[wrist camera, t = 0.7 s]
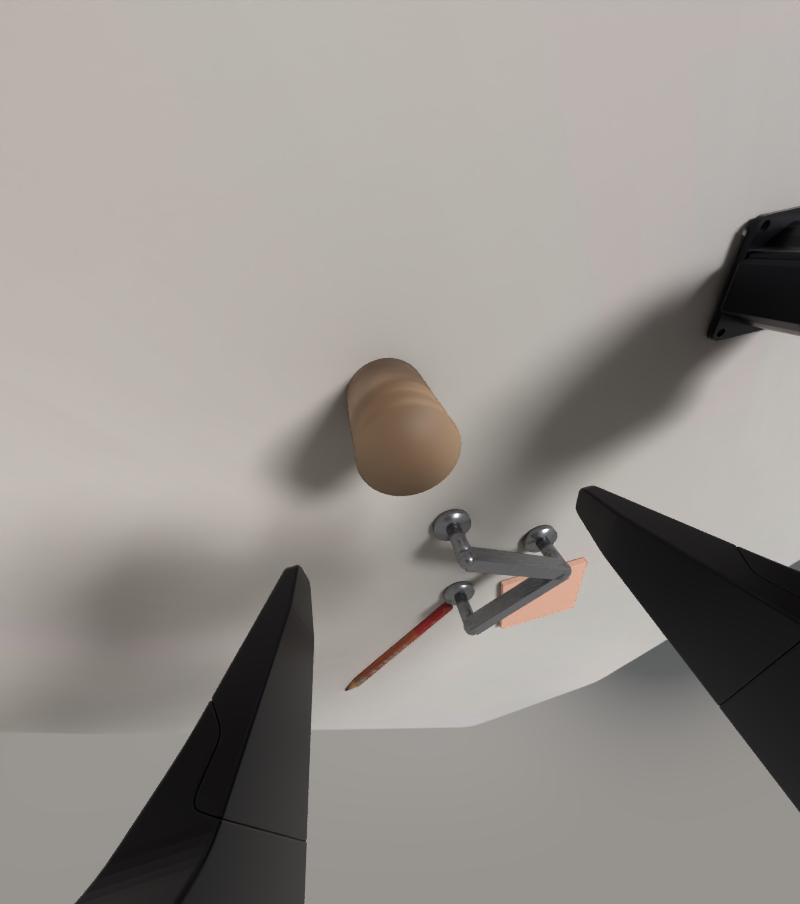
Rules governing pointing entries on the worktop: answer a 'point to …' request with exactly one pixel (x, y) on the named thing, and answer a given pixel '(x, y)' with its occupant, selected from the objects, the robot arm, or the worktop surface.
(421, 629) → the pencil
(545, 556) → the dark grey bent piece
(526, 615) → the terracotta mat
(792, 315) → the robot arm
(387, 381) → the wooden dowel cylinder
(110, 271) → the worktop surface
